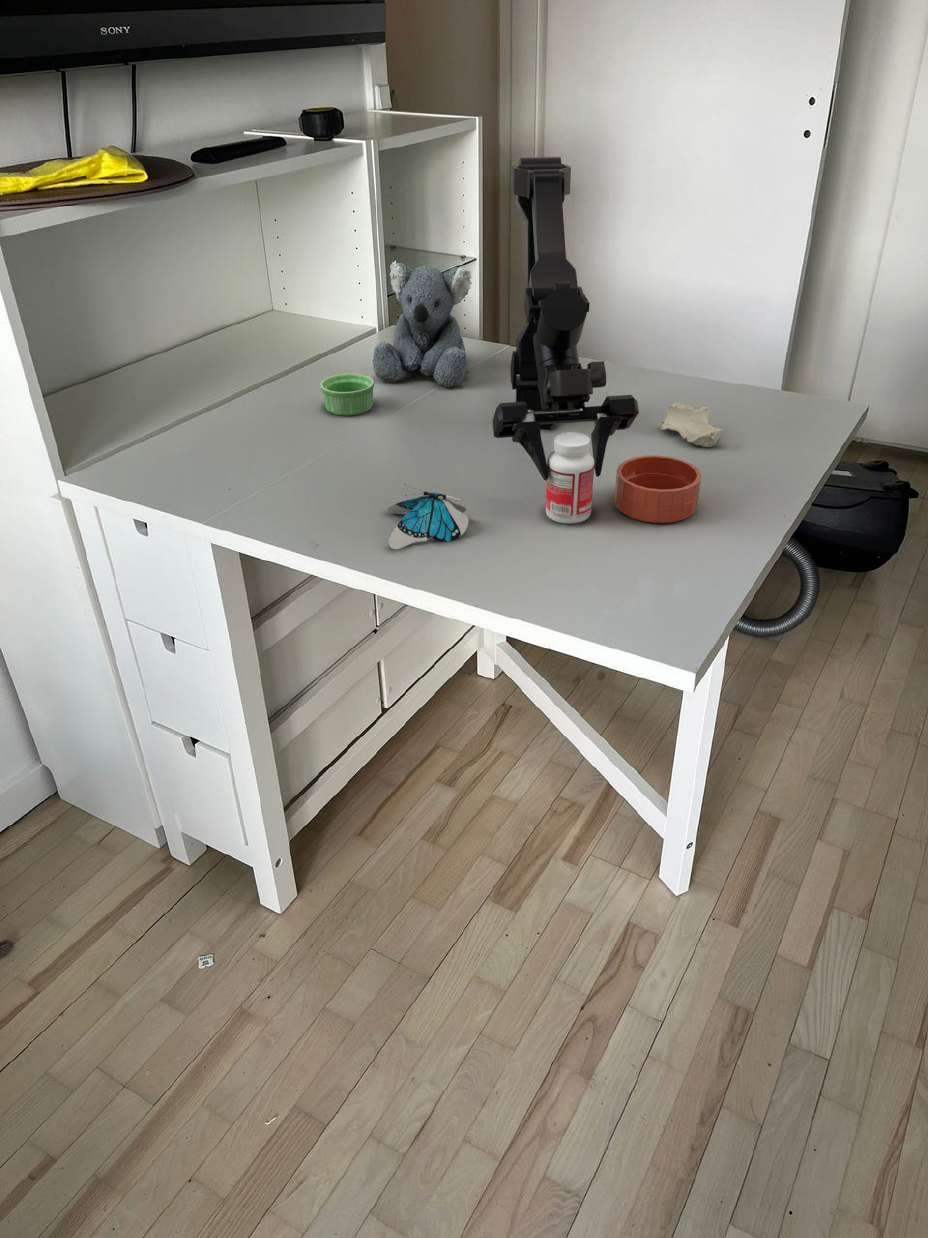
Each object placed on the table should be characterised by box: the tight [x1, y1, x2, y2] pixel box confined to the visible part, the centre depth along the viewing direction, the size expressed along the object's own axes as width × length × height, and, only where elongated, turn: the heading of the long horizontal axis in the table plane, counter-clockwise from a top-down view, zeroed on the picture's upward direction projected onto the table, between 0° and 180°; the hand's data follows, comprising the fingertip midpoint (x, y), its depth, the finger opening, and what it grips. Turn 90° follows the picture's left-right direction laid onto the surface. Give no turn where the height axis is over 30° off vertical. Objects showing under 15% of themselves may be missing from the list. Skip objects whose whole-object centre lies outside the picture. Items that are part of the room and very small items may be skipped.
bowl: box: [613, 454, 702, 524], centre depth 131 cm, size 11×11×5 cm
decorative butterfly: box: [387, 483, 469, 550], centre depth 126 cm, size 10×6×10 cm
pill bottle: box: [545, 431, 595, 525], centre depth 127 cm, size 6×6×11 cm
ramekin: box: [320, 373, 375, 417], centre depth 162 cm, size 9×9×4 cm
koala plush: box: [372, 260, 473, 388], centre depth 173 cm, size 17×18×20 cm
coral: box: [660, 401, 723, 448], centre depth 150 cm, size 6×10×4 cm, turn 45°
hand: (572, 477), depth 126 cm, fingers open, 7 cm apart
